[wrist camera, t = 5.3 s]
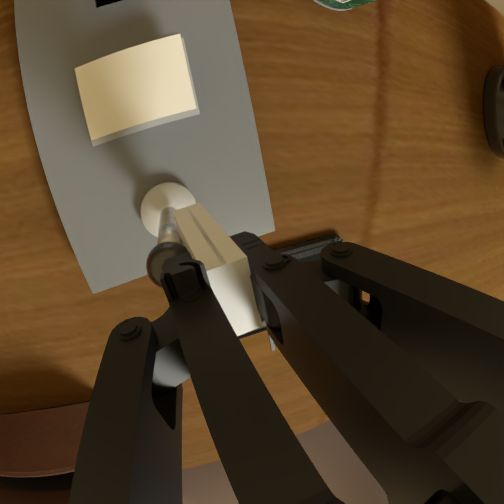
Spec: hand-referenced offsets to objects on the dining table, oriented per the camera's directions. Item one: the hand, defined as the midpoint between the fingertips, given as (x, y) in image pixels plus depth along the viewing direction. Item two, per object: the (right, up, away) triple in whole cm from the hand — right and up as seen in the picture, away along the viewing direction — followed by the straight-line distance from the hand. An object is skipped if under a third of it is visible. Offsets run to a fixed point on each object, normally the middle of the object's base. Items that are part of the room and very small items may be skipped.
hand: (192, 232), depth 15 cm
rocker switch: (-4, +8, 0) cm, 9 cm away
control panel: (-5, +10, +4) cm, 12 cm away
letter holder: (-21, -22, +12) cm, 33 cm away
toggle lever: (-2, +1, +4) cm, 5 cm away
